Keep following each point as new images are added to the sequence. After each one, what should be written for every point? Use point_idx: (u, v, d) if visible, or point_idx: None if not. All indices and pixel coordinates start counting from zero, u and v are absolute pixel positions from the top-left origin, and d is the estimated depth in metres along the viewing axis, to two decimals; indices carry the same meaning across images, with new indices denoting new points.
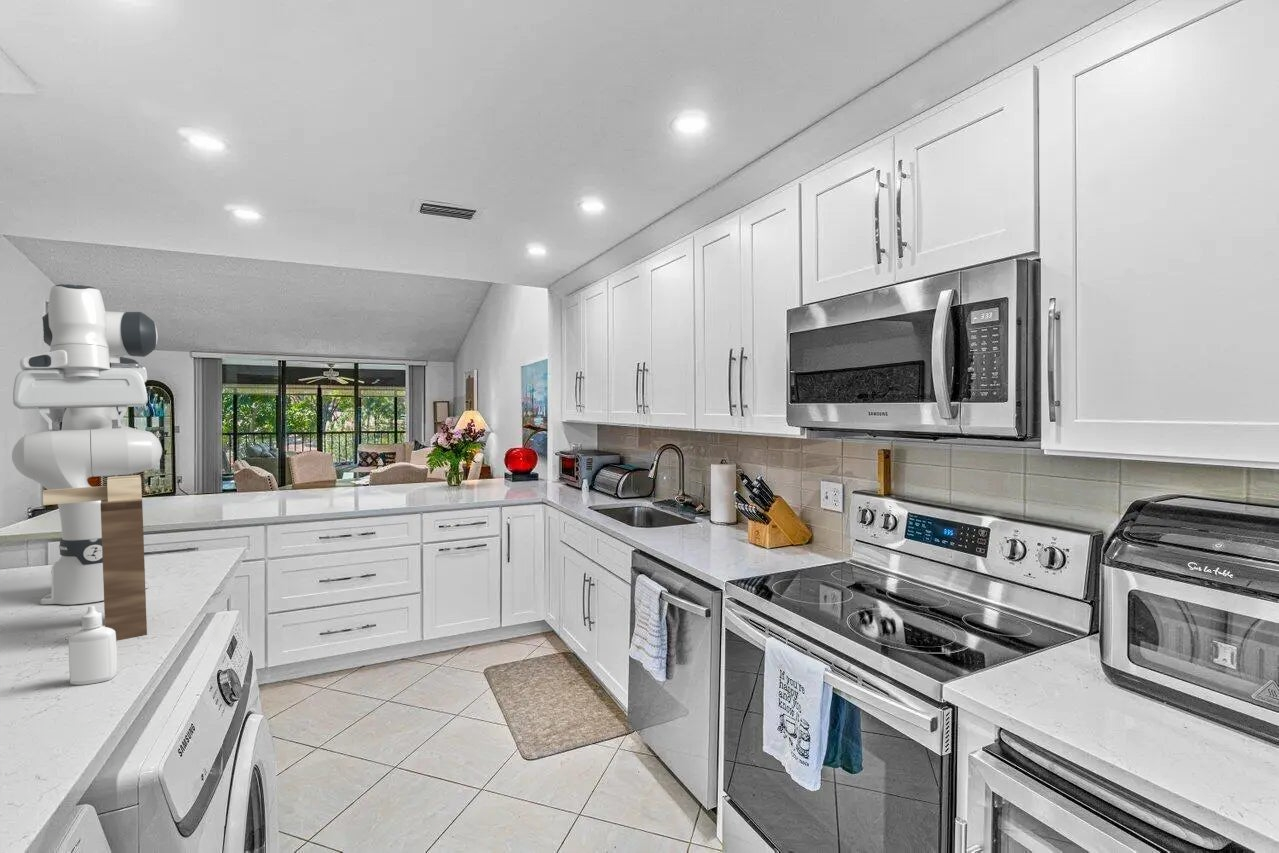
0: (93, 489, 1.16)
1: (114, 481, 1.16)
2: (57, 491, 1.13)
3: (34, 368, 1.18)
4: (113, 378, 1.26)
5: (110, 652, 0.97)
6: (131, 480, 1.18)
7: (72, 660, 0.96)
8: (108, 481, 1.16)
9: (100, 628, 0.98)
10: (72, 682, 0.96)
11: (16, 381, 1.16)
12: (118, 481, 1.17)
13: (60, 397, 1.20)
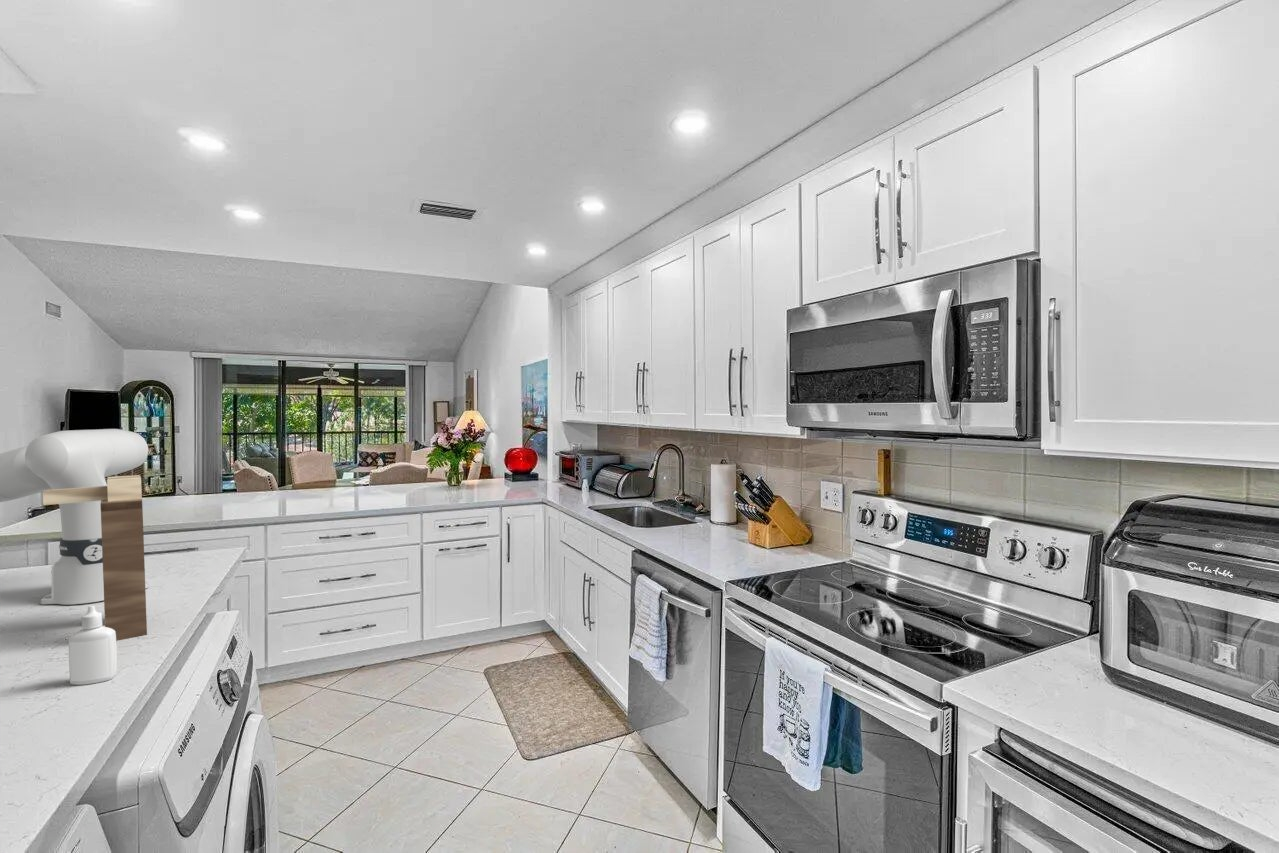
0: (93, 489, 1.16)
1: (114, 481, 1.16)
2: (57, 491, 1.13)
3: None
4: None
5: (110, 652, 0.97)
6: (131, 480, 1.18)
7: (72, 660, 0.96)
8: (108, 481, 1.16)
9: (100, 628, 0.98)
10: (72, 682, 0.96)
11: None
12: (118, 481, 1.17)
13: None
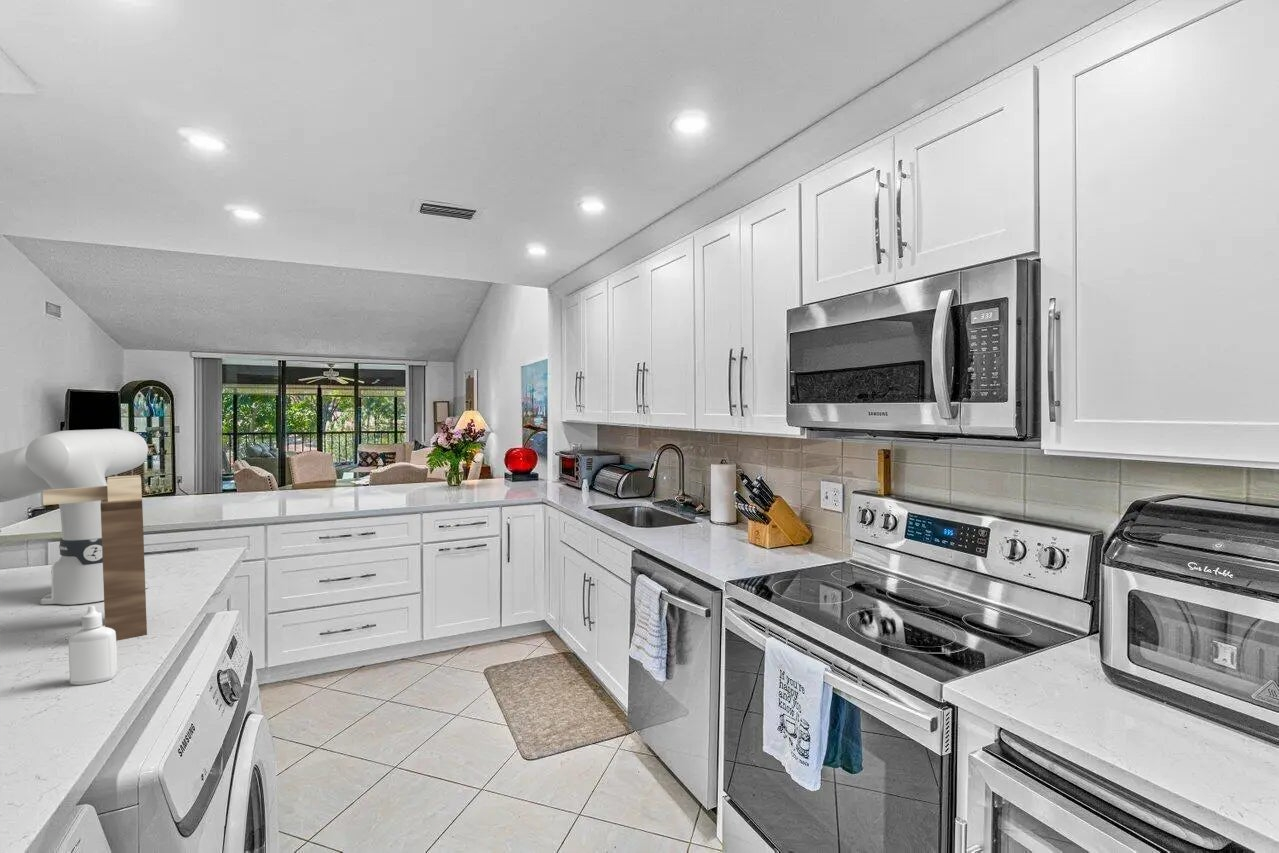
0: (93, 489, 1.16)
1: (114, 481, 1.16)
2: (57, 491, 1.13)
3: None
4: None
5: (110, 652, 0.97)
6: (131, 480, 1.18)
7: (72, 660, 0.96)
8: (108, 481, 1.16)
9: (100, 628, 0.98)
10: (72, 682, 0.96)
11: None
12: (118, 481, 1.17)
13: None
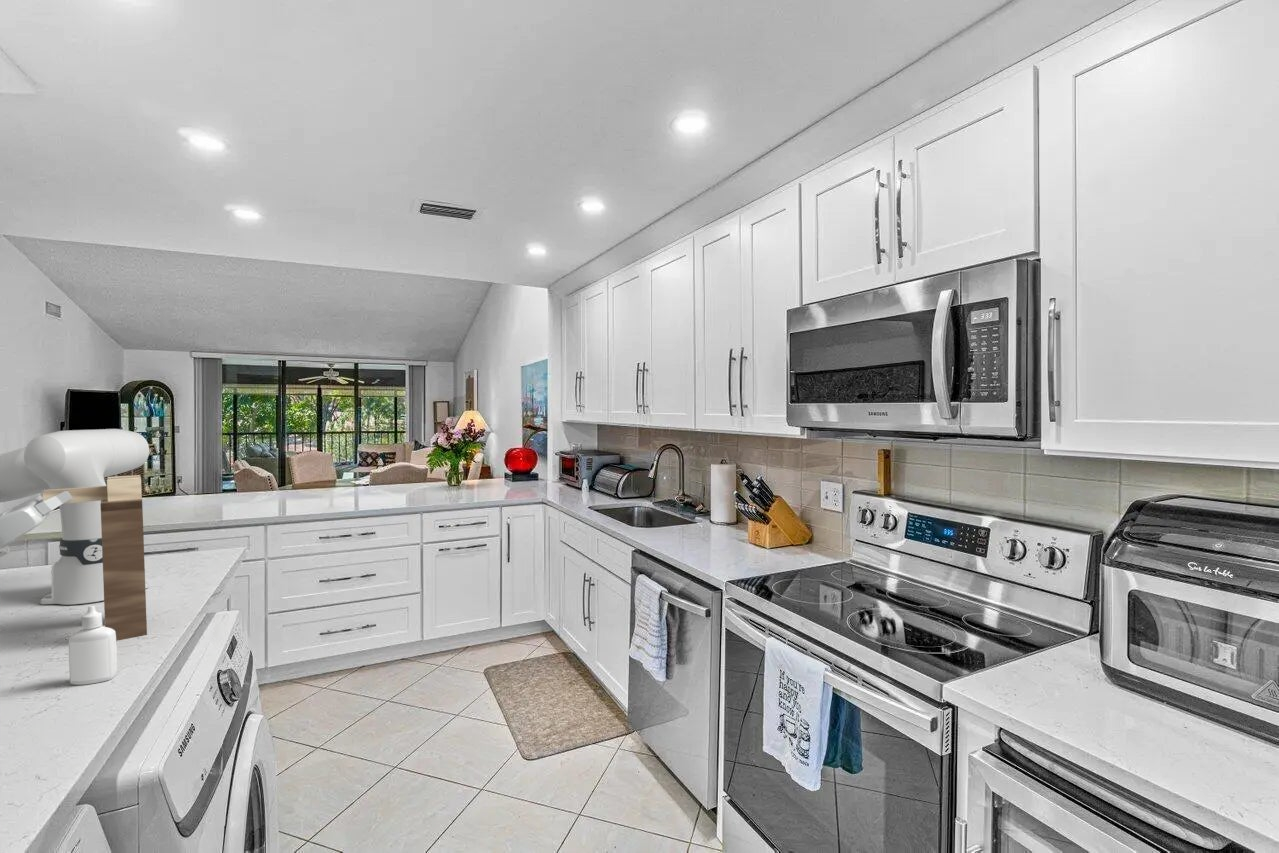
0: (93, 489, 1.16)
1: (114, 481, 1.16)
2: (57, 491, 1.13)
3: None
4: (1, 514, 1.13)
5: (110, 652, 0.97)
6: (131, 480, 1.18)
7: (72, 660, 0.96)
8: (108, 481, 1.16)
9: (100, 628, 0.98)
10: (72, 682, 0.96)
11: None
12: (118, 481, 1.17)
13: (20, 507, 1.09)
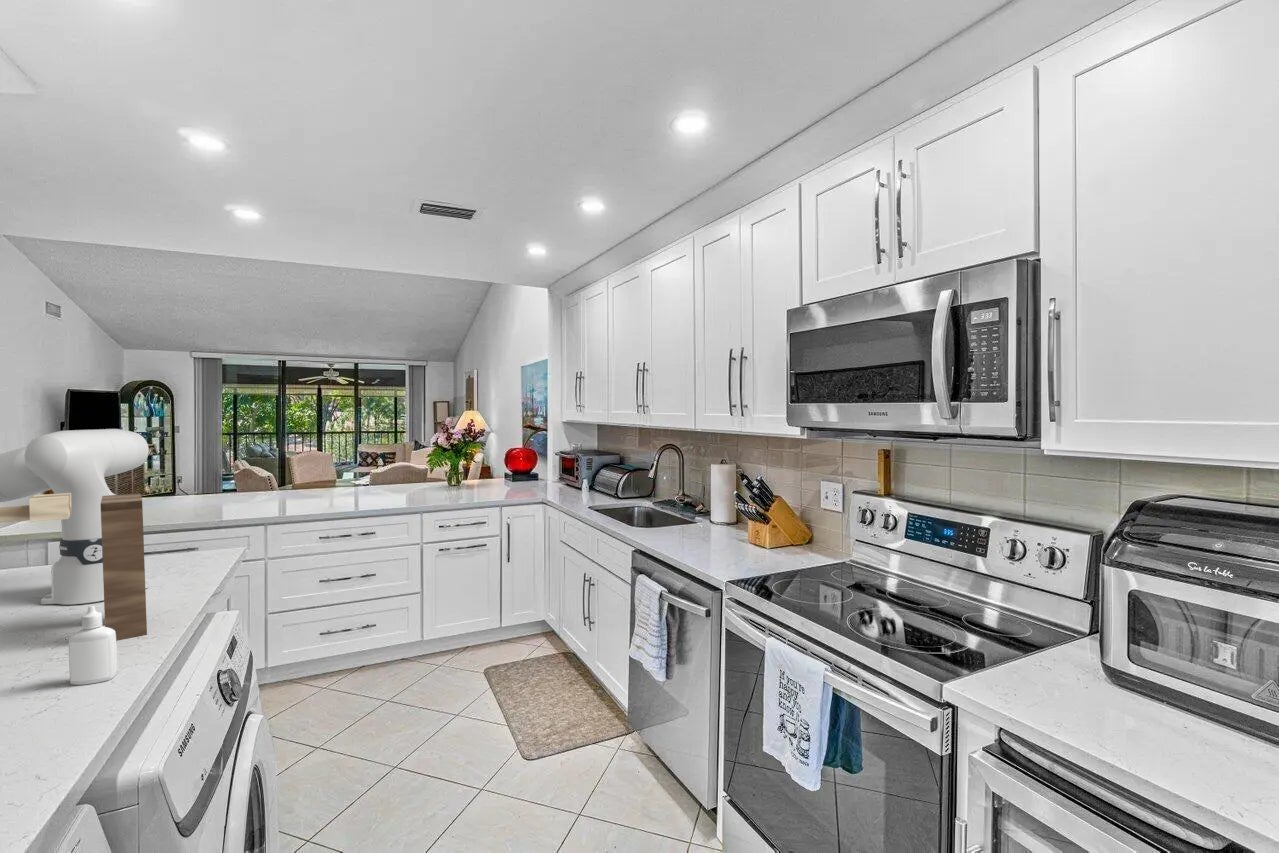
0: (15, 509, 1.09)
1: (37, 500, 1.09)
2: None
3: None
4: None
5: (110, 652, 0.97)
6: (56, 499, 1.11)
7: (72, 660, 0.96)
8: (30, 500, 1.09)
9: (100, 628, 0.98)
10: (72, 682, 0.96)
11: None
12: (42, 500, 1.10)
13: None
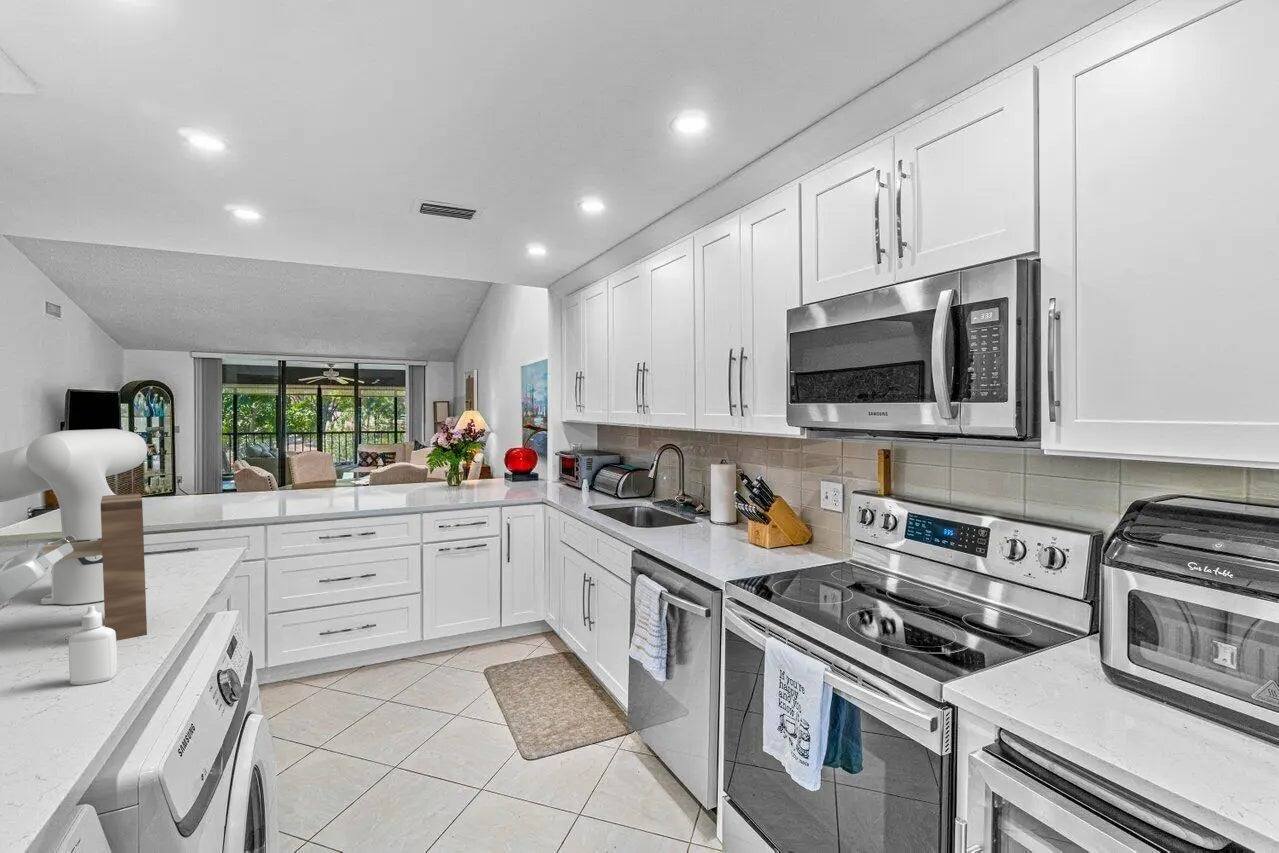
0: (94, 544, 1.17)
1: None
2: None
3: None
4: (3, 564, 1.13)
5: (110, 652, 0.97)
6: None
7: (72, 660, 0.96)
8: None
9: (100, 628, 0.98)
10: (72, 682, 0.96)
11: None
12: None
13: (22, 559, 1.09)
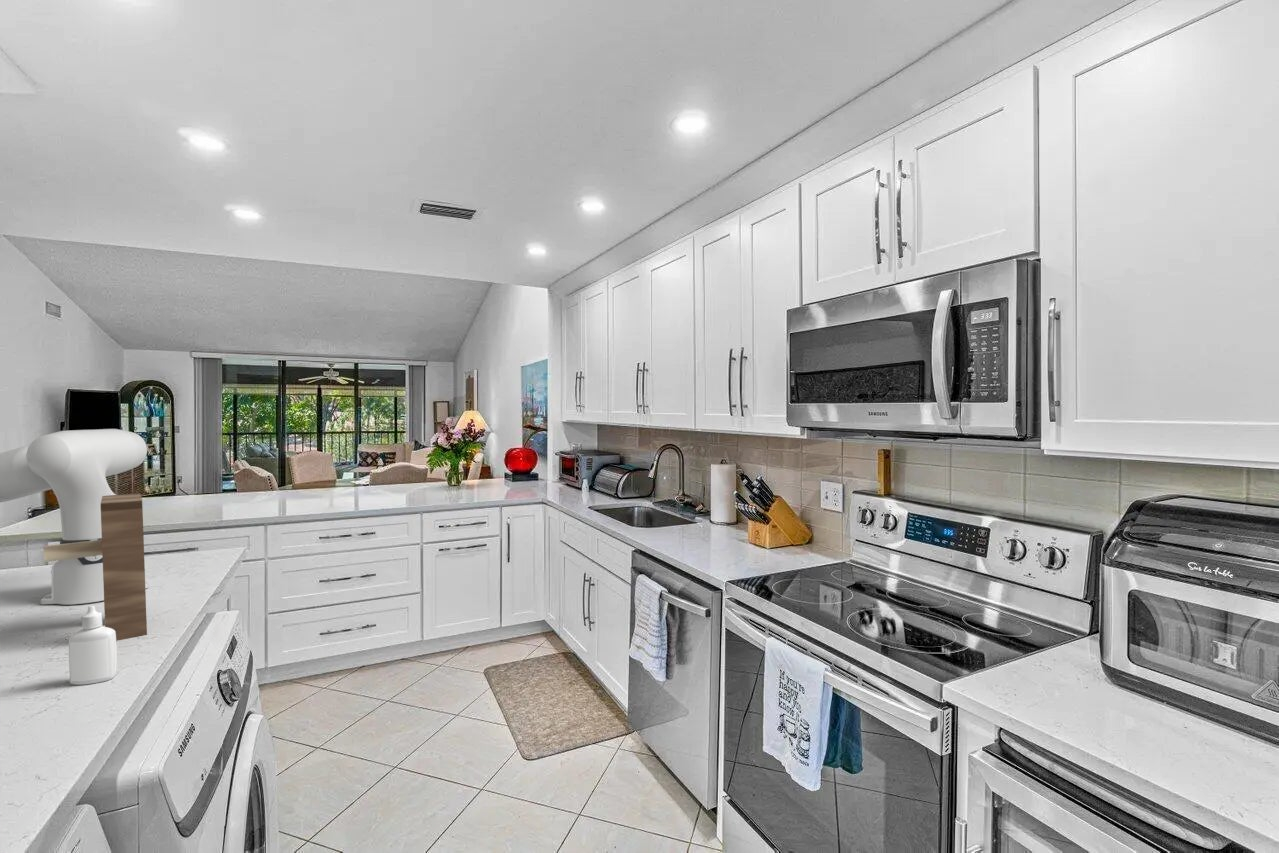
0: (94, 544, 1.17)
1: None
2: (58, 547, 1.13)
3: None
4: None
5: (110, 652, 0.97)
6: None
7: (72, 660, 0.96)
8: None
9: (100, 628, 0.98)
10: (72, 682, 0.96)
11: None
12: None
13: None
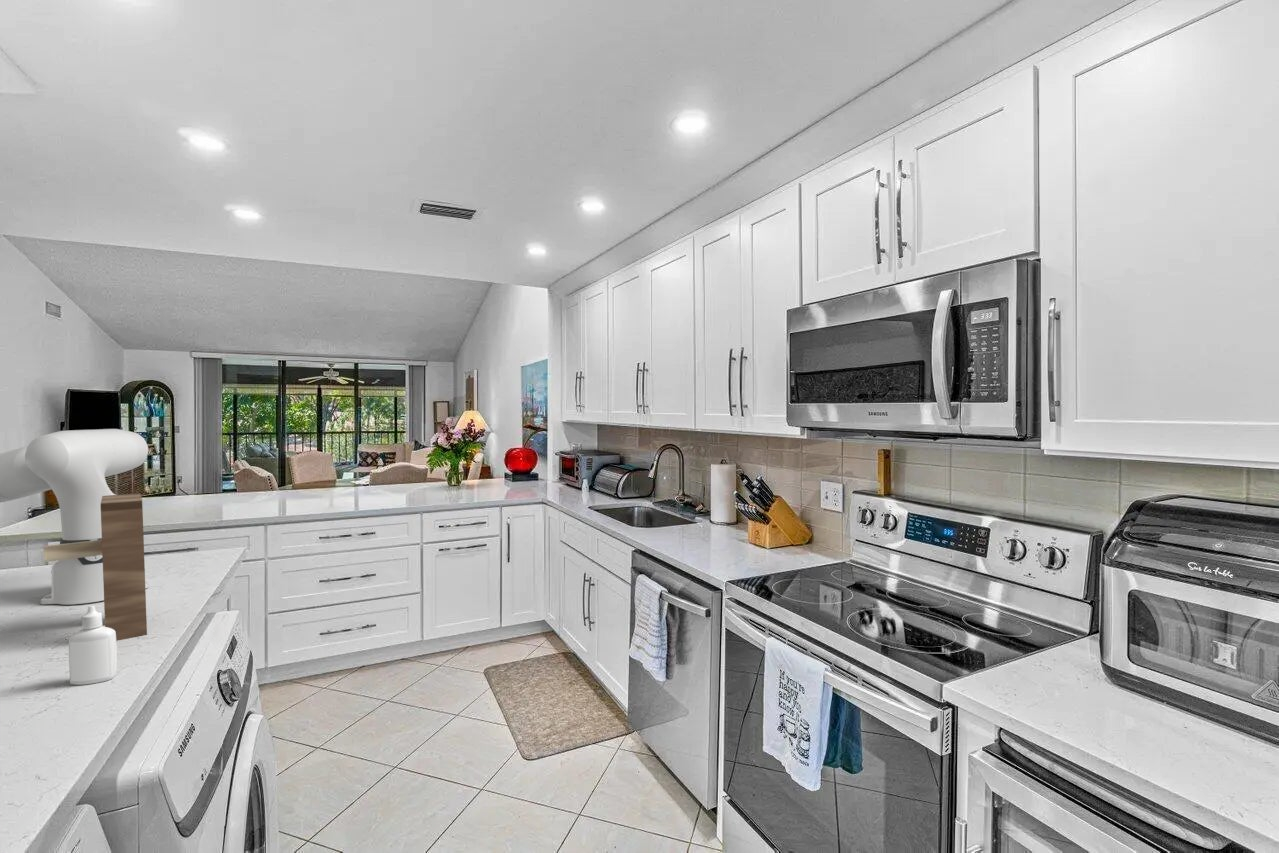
0: (94, 544, 1.17)
1: None
2: (58, 547, 1.13)
3: None
4: None
5: (110, 652, 0.97)
6: None
7: (72, 660, 0.96)
8: None
9: (100, 628, 0.98)
10: (72, 682, 0.96)
11: None
12: None
13: None
